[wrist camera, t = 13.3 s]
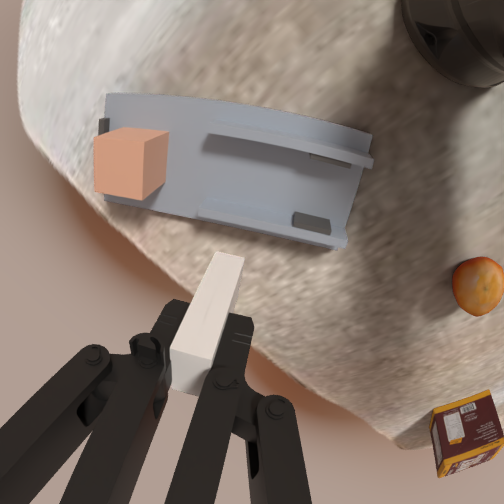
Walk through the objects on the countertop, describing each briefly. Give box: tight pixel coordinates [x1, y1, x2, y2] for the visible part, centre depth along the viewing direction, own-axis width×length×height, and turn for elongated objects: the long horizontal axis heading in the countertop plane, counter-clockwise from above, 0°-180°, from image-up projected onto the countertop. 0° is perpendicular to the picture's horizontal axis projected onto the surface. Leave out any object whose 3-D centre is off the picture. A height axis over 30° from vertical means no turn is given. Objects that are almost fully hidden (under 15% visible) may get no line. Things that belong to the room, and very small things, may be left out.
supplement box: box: [429, 390, 504, 478], centre depth 46 cm, size 10×15×16 cm
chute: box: [98, 93, 374, 250], centre depth 31 cm, size 14×30×4 cm, turn 80°
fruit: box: [452, 257, 504, 317], centre depth 33 cm, size 8×8×8 cm
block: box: [94, 127, 169, 200], centre depth 30 cm, size 6×6×6 cm
